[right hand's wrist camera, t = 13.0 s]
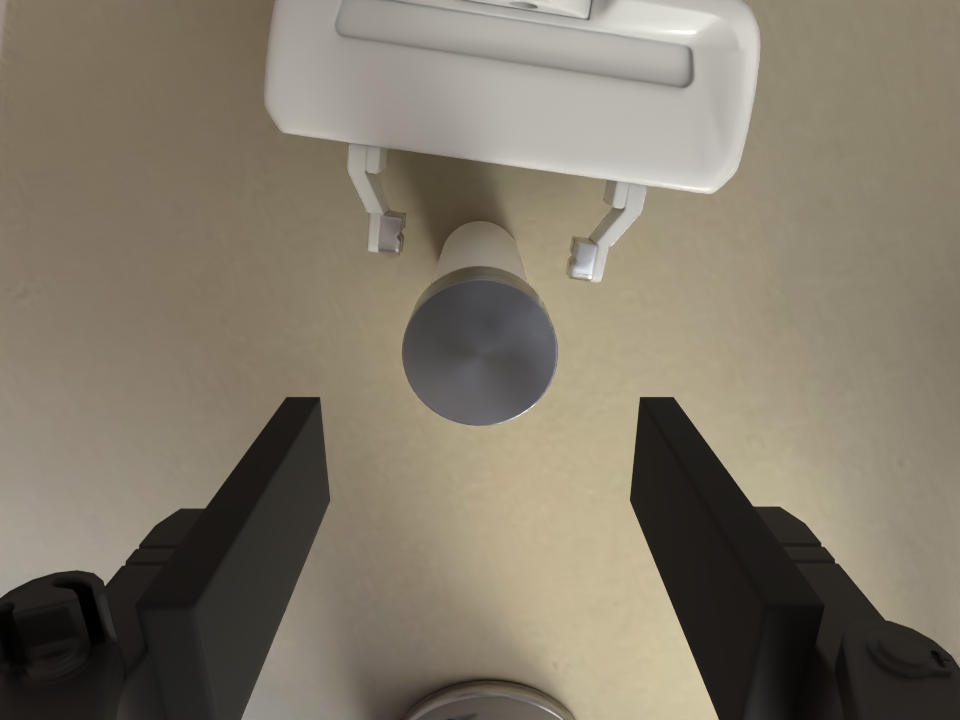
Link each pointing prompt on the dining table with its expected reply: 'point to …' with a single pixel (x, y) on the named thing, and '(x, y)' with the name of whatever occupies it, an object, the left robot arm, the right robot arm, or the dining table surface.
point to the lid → (479, 346)
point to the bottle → (479, 250)
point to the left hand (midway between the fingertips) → (484, 265)
